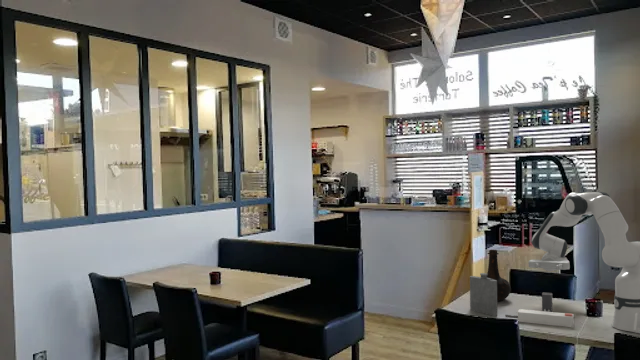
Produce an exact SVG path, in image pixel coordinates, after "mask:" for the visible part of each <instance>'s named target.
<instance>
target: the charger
mask: <svg viewBox="0 0 640 360" xmlns="http://www.w3.org/2000/svg"><path fill="white" fill-rule="evenodd" d="M541 311H546V312H553V293H552V292H542V293H541Z"/></svg>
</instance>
